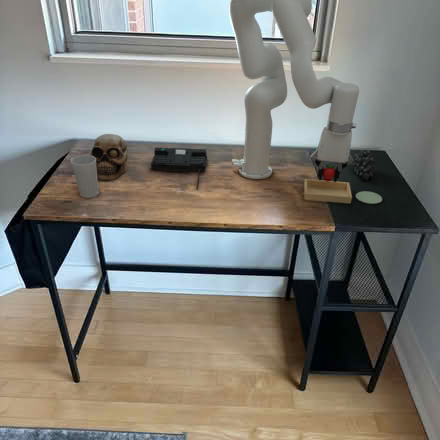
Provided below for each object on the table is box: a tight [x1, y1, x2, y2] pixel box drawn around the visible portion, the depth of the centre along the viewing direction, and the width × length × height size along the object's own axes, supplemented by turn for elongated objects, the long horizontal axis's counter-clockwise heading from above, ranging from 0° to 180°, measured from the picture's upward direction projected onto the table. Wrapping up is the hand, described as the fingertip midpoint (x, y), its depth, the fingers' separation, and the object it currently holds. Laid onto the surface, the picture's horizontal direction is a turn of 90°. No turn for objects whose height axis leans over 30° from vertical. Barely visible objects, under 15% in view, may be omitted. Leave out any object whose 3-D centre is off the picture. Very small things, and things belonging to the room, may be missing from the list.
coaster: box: [355, 190, 383, 204], centre depth 155 cm, size 9×9×1 cm
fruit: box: [352, 149, 376, 182], centre depth 167 cm, size 9×8×15 cm
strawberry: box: [322, 163, 336, 182], centre depth 151 cm, size 4×4×5 cm
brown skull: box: [90, 133, 129, 182], centre depth 166 cm, size 16×17×13 cm
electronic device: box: [150, 147, 208, 190], centre depth 168 cm, size 21×30×5 cm
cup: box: [70, 154, 100, 199], centre depth 149 cm, size 8×8×12 cm
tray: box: [303, 178, 353, 204], centre depth 155 cm, size 16×12×3 cm
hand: (327, 179), depth 153 cm, fingers closed on strawberry, 4 cm apart
